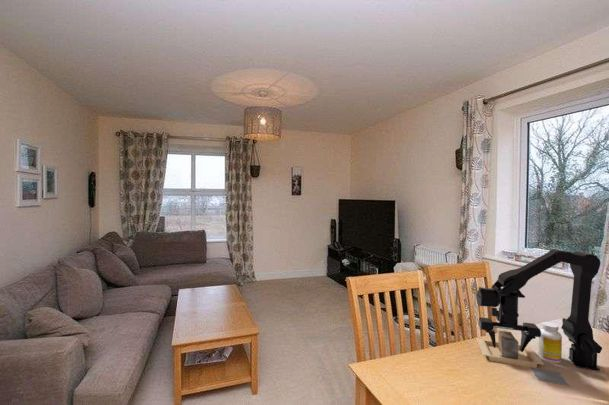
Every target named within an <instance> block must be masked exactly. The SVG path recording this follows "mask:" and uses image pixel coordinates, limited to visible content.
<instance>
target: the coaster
mask: <svg viewBox="0 0 609 405" xmlns="http://www.w3.org/2000/svg"><path fill="white" fill-rule="evenodd" d="M529 369H531V371H532V373H533V374H534V376H536V379H537V380H538V381H539V382H545V383H552V384H555V385H556V384H558V385H564V386H568V387H570V386H571V385H570V384H569V383H568V382H567V381H566V379H565V377H563V375H562V374H561V373H560V371H557V370H556V371H555V370H550V369H543V368H538V367H537V368H534V367H529Z"/></svg>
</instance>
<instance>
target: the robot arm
mask: <svg viewBox="0 0 609 405" xmlns="http://www.w3.org/2000/svg"><path fill="white" fill-rule="evenodd" d="M559 263H566V264H569V267H570V270H571V272H572V275H573V283H572V284H573V285H572V295H571V304H570V306H571V307H570V314H569V316H568V317H567V318H564V317H562V318H561V322H562V325H561V329H562V331H563V334H564V335H565V336H566V337H567V339H568V341H569V342H571V343H570V344H571V345H570V347H569V350H568V353H569V354H568V355H569V356H568V359H569V360H570V362H571V363H572V364H573V365H574V366H576V367H577V368H583V369H591V370H596V371H600V370H601V369H600V367H599V366H598V354H601V352H602V350H603V347H602V346H601V345H600V344H599V343H598V342H597V341H596V340H594V330H593V328H592V326H591V323H590V321H589V318H590V307H591V296H592V284H593V279H594V278H595V277H596V276H597V274H598V273H599V269H600V267H601V264H602V263H601V259H600V258H598V257H597V255H596V254H592V253H588V252H584V251H580V250H579V251H574V252H571V251H566V250H565V251H564V250H559V249H556V248H552V249H550V250H549V251H548V252H546V253H544V254H543V255H541V256H539V257H537V258H535V259H533V260H532V261H530V262H528V263H526V264H524V265H523V266H521V267H518V268H514V269H509V270H507V271H504V272H502V273H500V274H499V275H498V277H497V280H496V281H495V282H494V283H493V284H492V285H491V286H490V288H489V287H481V286H480V287H478V290H477V292H476V296H475V299H476V304H477V306H478V307H485V308H486V307H487V308H488V307H489V308H490V316H491V317H495V318H496V320H497V321H498V322H497V321H493V320H492V319H491V318H490V317H483V316H482V317H479V318H478V321H477V322H478V326H479V328H480V329H481V330H482V331H485V333H488V335H489V337H490V341H492V344H493V347H494V348H495V346H496V342H497V340H496V331H495V330H494V328H496V329H505V330H512V331H520V332H521V338H520V344H519V345H520V351H521V352H523V351H524V349H525V348H526V346H528V345H529V343H530V342H531V341H533V339H534V340H535V339H536V338H539V337H541V330H540V329H541V328H539V327H538V326H537V324H535V323H531V322H523V323H522V324H518V323H519V320H518V318H519V316H520V315H519V298H522V299H525V298H526V295H524V294H523V293H522V292H521V289H522V288H523V287H525V286H526V285H527V283H528V281H529V280H531V279H533V278H535V277H537V276H538V275H540V274H541V273H543V272H545V271H547V270H549V269H551V268H552V267H554V266H556V265H558V264H559ZM497 307H498V308H497Z"/></svg>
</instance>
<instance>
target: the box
mask: <svg viewBox="0 0 609 405" xmlns="http://www.w3.org/2000/svg"><path fill="white" fill-rule="evenodd" d="M497 336H498V338H497V339H498V340H497V342H498V349H499V351H500V352H501V354H502V356H503V357H504V358H511V359H518V345H519V341H518V339H516V337H515V336H514V334H513V333H512V332H511V331H506V330H498V335H497Z"/></svg>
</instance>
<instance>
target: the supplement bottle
mask: <svg viewBox="0 0 609 405" xmlns="http://www.w3.org/2000/svg"><path fill="white" fill-rule="evenodd" d="M541 326H542V328H539V329H540V330H541V337H538V347H537V348H538V350H537V351H538V352H537V355H538V357H539V358H540V359H541V360H544V361H546V362H550V363H554V364H555V363H561V362H562V353H563V352H562V347H563V345H562V343H563V340H562V339H563V336H562V334H561V333H560V332H559V330H560V329H559V325H558V324H556V323H553V322H550V321H543V322H542V323H541Z"/></svg>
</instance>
